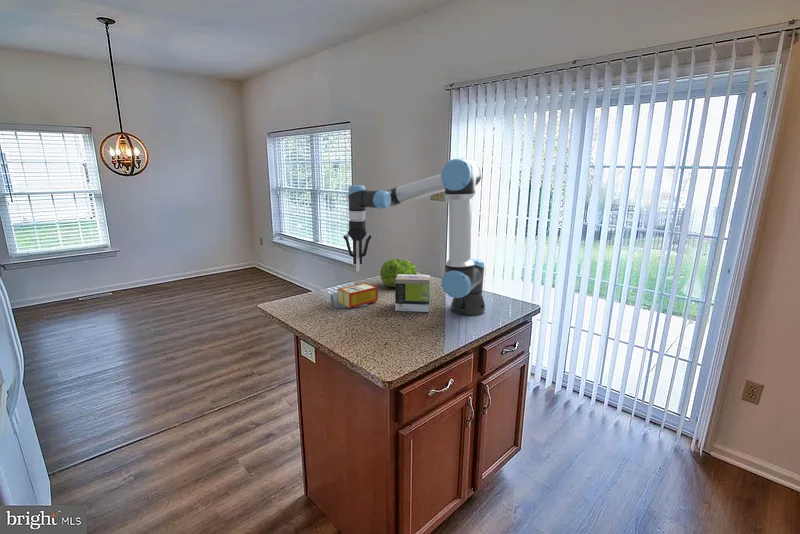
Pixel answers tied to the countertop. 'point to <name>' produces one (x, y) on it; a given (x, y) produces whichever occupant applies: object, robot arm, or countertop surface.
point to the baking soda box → (357, 295)
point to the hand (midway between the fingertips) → (357, 270)
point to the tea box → (412, 292)
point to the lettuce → (396, 270)
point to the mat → (338, 305)
